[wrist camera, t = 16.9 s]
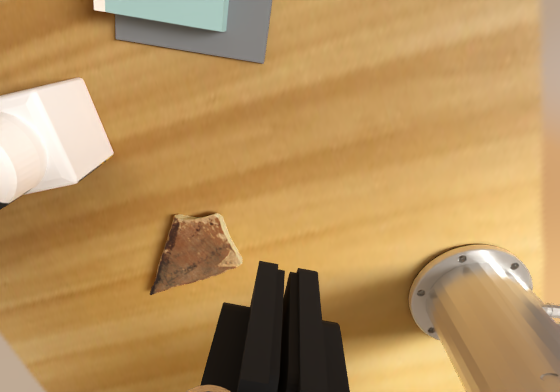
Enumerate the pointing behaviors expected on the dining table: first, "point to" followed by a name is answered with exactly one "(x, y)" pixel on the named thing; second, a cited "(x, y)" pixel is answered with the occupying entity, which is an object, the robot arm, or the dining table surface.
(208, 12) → the slab
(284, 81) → the dining table surface
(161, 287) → the shard
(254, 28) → the mat
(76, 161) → the medicine bottle
